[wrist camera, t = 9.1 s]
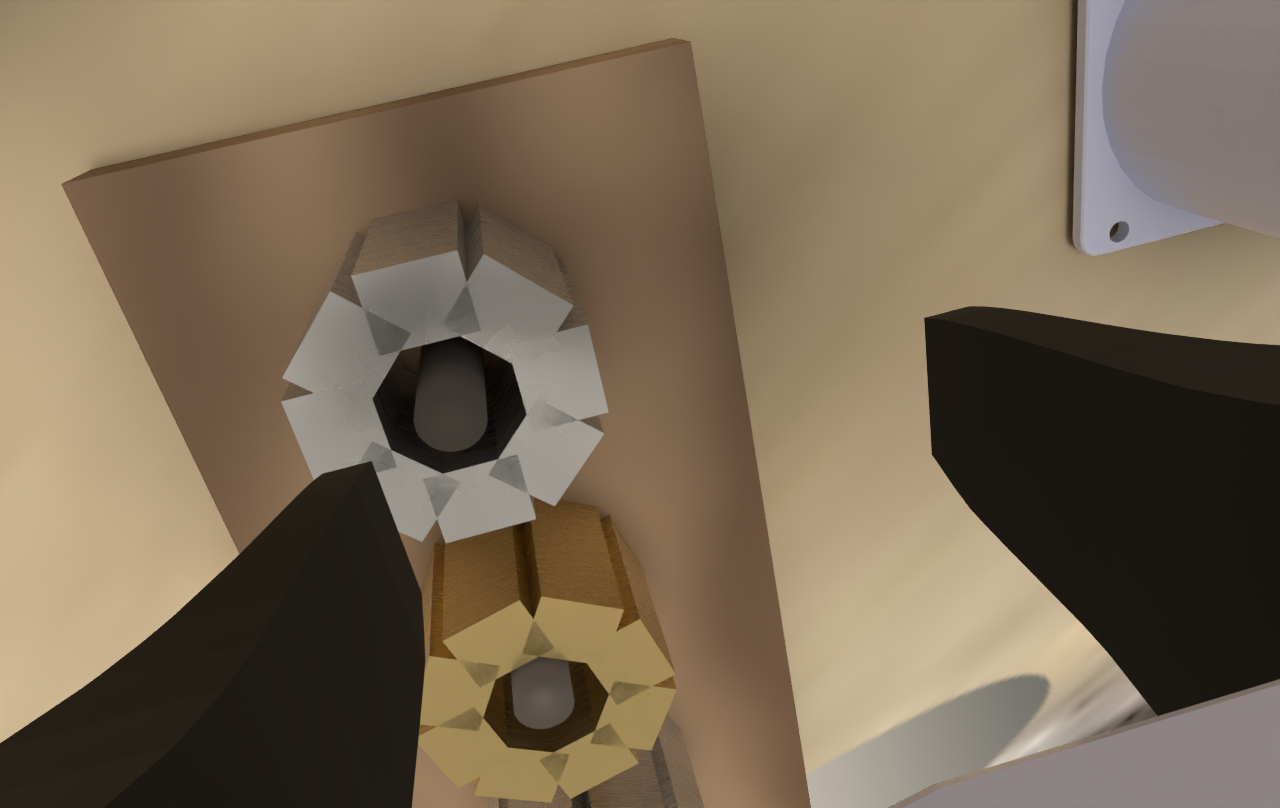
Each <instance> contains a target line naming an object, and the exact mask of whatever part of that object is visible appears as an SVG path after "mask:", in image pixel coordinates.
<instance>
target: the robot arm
mask: <svg viewBox="0 0 1280 808" xmlns="http://www.w3.org/2000/svg"><path fill="white" fill-rule="evenodd" d="M1117 222H1118V224H1119V226H1118V230H1117V232H1116V233H1115V234H1114V236H1112V237H1110V236H1109V233H1110V230H1111V228H1112V227H1113V225H1114V224H1115V223H1117ZM1224 223H1227V224H1231V225H1234V226H1237V227H1241V228H1244V229H1248V230H1251V231H1254V232H1258V233H1261V234H1264V235H1268V236H1271V237H1274V238H1278V239H1280V0H1078V24H1077V69H1076V113H1075V157H1074V201H1073V243H1074V246H1075V247H1076V248H1077V250H1078V251H1081V252H1083V253H1085V254H1088V255H1090V256H1099V255H1103V254H1107V253H1111V252H1115V251H1118V250H1122V249H1126V248H1130V247H1134V246H1138V245H1142V244H1146V243H1150V242H1154V241H1157V240H1161V239H1165V238H1169V237H1173V236H1177V235H1181V234H1185V233H1189V232H1192V231H1196V230H1200V229H1204V228H1208V227H1212V226H1216V225H1220V224H1224ZM924 320H925V338H926V356H927V374H928V392H929V410H930V428H931V446H932V455H933V457H934V458H935V459H936V461H937V462H938V464H939V465H940V467H941V468H942V470H943V471H944V473H945V474H946V476H947V477H948V479H949V480H950V482H951V483H952V485H953V486H954V487H955V489H956V490H957V491H958V493H959V494H960V495H961V497H962V498H963V499H964V501H965V502H966V504H967V505H968V506H969V508H970V509H971V510H972V511H973V512H974V513H975V514H976V515H977V517H978V518H979V519H980V520H981V521H982V522H983V523H984V524H985V525H986V526H987V527H988V528H989V529H990V530H991V531H992V532H993V533H994V534H995V535H996V536H997V538H998V539H999V540H1000V541H1001V542H1002V543H1003V544H1004V545H1005V546H1006V547H1007V548H1008V549H1009V550H1010V551H1011V552H1012V553H1013V554H1014V555H1015V556H1016V557H1017V558H1018V559H1019V560H1020V561H1021V562H1022V563H1023V564H1024V565H1025V566H1026V567H1027V568H1028V569H1029V570H1030V571H1031V572H1032V573H1033V574H1034V575H1035V576H1036V577H1037V579H1038V580H1039V581H1040V582H1041V583H1042V584H1043V585H1044V586H1045V587H1046V588H1047V589H1048V590H1049V591H1050V592H1051V593H1052V594H1053V595H1054V596H1055V597H1056V598H1057V599H1058V600H1059V601H1060V602H1061V603H1062V604H1063V605H1064V606H1065V607H1066V608H1067V609H1068V610H1069V611H1070V612H1071V613H1072V614H1073V615H1074V616H1075V617H1076V618H1077V619H1078V620H1079V621H1080V622H1081V623H1082V624H1083V625H1084V626H1085V628H1086V629H1087V630H1088V631H1089V632H1090V633H1091V634H1092V635H1093V637H1094V638H1095V639H1096V640H1097V641H1098V642H1099V643H1100V644H1101V645H1102V647H1103V648H1104V649H1105V650H1106V651H1107V652H1108V653H1109V655H1110V656H1111V657H1112V658H1113V660H1114V661H1115V662H1116V663H1117V665H1118V666H1119V667H1120V668H1121V670H1122V671H1123V672H1124V674H1125V675H1126V676H1127V677H1128V679H1129V680H1130V681H1131V683H1132V684H1133V685H1134V686H1135V688H1136V689H1137V690H1138V691H1139V693H1140V694H1141V695H1142V697H1143V698H1144V699H1145V700H1146V702H1147V703H1148V704H1149V705H1150V707H1151V708H1152V709H1153V711H1154V712H1155V713H1156V714H1157V717H1154V718H1151V719H1147V720H1144V721H1141V722H1137V723H1134V724H1131V725H1127V726H1124V727H1121V728H1118V729H1114V730H1111V731H1108V732H1104V733H1101V734H1098V735H1095V736H1091V737H1088V738H1085V739H1081V740H1078V741H1075V742H1072V743H1068V744H1065V745H1062V746H1058V747H1055V748H1052V749H1048V750H1045V751H1042V752H1039V753H1035V754H1032V755H1029V756H1025V757H1022V758H1019V759H1016V760H1012V761H1009V762H1006V763H1002V764H999V765H996V766H993V767H989V768H986V769H983V770H979V771H976V772H973V773H970V774H967V775H963V776H960V777H956V778H953V779H950V780H947V781H943V782H940V783H937V784H934V785H932V786H930V787H928V788H926V789H924V790H922V791H920V792H918V793H916V794H914V795H912V796H910V797H908V798H906V799H904V800H903V801H900V802H898V803H896V804H895V805H892V806H890V807H888V808H1280V345H1265V344H1251V343H1240V342H1230V341H1220V340H1212V339H1204V338H1196V337H1188V336H1180V335H1172V334H1164V333H1157V332H1150V331H1143V330H1137V329H1130V328H1124V327H1118V326H1111V325H1105V324H1099V323H1093V322H1087V321H1082V320H1076V319H1070V318H1064V317H1058V316H1052V315H1046V314H1040V313H1033V312H1027V311H1020V310H1012V309H1005V308H995V307H974V306H971V307H965V308H961V309H957V310H954V311H950V312H946V313H942V314H938V315H934V316H930V317H926V318H924ZM424 673H425V638H424V620H423V605H422V592H421V590H420V587H419V584H418V582H417V579H416V577H415V574H414V571H413V569H412V566H411V563H410V561H409V558H408V555H407V553H406V550H405V548H404V545H403V542H402V540H401V537H400V534H399V532H398V529H397V526H396V524H395V521H394V519H393V516H392V513H391V511H390V508H389V505H388V503H387V500H386V497H385V495H384V492H383V490H382V487H381V484H380V482H379V479H378V476H377V474H376V471H375V468H374V466H373V463H372V461H369V462H365V463H362V464H358V465H354V466H350V467H346V468H342V469H338V470H334V471H331V472H327V473H323V474H321V475H320V476H319V477H317V478H316V479H315V480H313V481H312V482H311V483H310V484H309V485H308V486H307V487H306V488H305V489H303V490H302V491H301V492H300V493H299V494H298V495H297V496H296V497H295V498H294V499H293V500H292V501H291V502H290V503H289V504H288V505H287V506H286V507H285V508H284V509H283V510H282V511H281V513H280V514H279V515H278V516H277V517H276V518H275V519H274V520H273V521H272V522H271V523H270V524H269V525H268V526H267V527H266V528H265V529H264V530H263V531H262V532H261V533H260V534H259V535H258V536H257V537H256V538H255V539H254V540H253V541H252V542H251V543H250V544H249V545H248V546H247V547H246V548H245V549H244V550H243V551H242V552H241V553H240V554H239V555H238V556H237V557H236V558H235V559H234V560H233V561H232V562H231V563H230V564H229V565H228V566H227V567H226V568H225V569H224V570H223V571H222V572H220V573H219V574H218V575H217V576H216V577H215V578H214V579H213V580H212V581H211V582H210V583H209V584H208V585H206V586H205V587H204V588H203V589H202V590H201V591H200V592H199V593H198V594H197V595H196V596H195V597H194V598H192V599H191V600H190V601H189V602H188V603H187V604H186V605H185V606H184V607H183V608H182V609H181V610H180V611H179V612H177V613H176V614H175V615H174V616H173V617H172V618H171V619H169V620H168V621H167V622H166V623H165V624H164V625H162V626H161V627H160V628H159V629H158V630H157V631H155V632H154V633H153V634H152V635H150V636H149V637H148V638H147V639H146V640H144V641H143V642H142V643H141V644H140V645H138V646H137V647H136V648H134V649H133V650H132V651H131V652H129V653H128V654H127V655H125V656H124V657H123V658H121V659H120V660H119V661H118V662H116V663H115V664H114V665H112V666H111V667H110V668H109V669H107V670H106V671H105V672H103V673H102V674H101V675H100V676H98V677H97V678H95V679H94V680H93V681H91V682H90V683H89V684H87V685H86V686H84V687H83V688H82V689H80V690H79V691H77V692H76V693H74V694H73V695H71V696H70V697H68V698H67V699H65V700H64V701H62V702H61V703H59V704H58V705H56V706H55V707H54V708H52V709H51V710H49V711H48V712H46V713H45V714H43V715H42V716H40V717H39V718H37V719H36V720H34V721H33V722H31V723H30V724H28V725H27V726H25V727H24V728H22V729H21V730H19V731H18V732H16V733H15V734H13V735H12V736H10V737H9V738H7V739H6V740H4V741H3V742H2V743H0V808H412V801H413V790H414V780H415V770H416V759H417V749H418V739H419V729H420V718H421V707H422V696H423V685H424Z"/></svg>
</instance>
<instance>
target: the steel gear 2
mask: <svg viewBox="0 0 1280 808" xmlns="http://www.w3.org/2000/svg"><path fill="white" fill-rule="evenodd" d="M636 753H637V757H638V761H639V763H638V764H636V765H634V766H633V767H631V768H629V769H627V770H625V771H623V772H621V773H619V774H617V775H615V776H613V777H611V778H610V779H608V780H606V781H604V782H602V783H600V784H598V785H596V786H594V787H592V788H590V789H588V790H587V791H585V792H583V793H581V794H579V795H577V796H575V797H573V798H571V799H570V798H569V796H568V795H567V794H566V793H565V791H564V790H563V789H562V788H561V787H560V785H559V784H558V786H557V789H556V792H555V794H554V797H553V800H552V802H551V803H549V802H538V801H527V800H516V799H506V798H495V797H488V808H704V805H703V801H702V798H701V795H700V791H699V788H698V785H697V781H696V778H695V775H694V772H693V768H692V765H691V762H690V758H689V755H688V752H687V748H686V745H685V742H684V739H683V735H682V732H681V729H680V728H679V727H678V725H677V724H676V723H675V722H674V721H673V720H672V719H671V718H670V717H669V716H668V715H667V714H666V717H665V719H664V722H663V724H662V726H661V729H660V731H659V734H658V736H657V738H656V741H655V743H654V745H653V748H652V750H643V749H636Z"/></svg>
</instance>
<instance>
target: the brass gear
mask: <svg viewBox="0 0 1280 808" xmlns="http://www.w3.org/2000/svg"><path fill="white" fill-rule="evenodd" d="M533 500H534V507H535V513H536V519H535V520H531V521H528V522H524V523H520V524H516V525H513V526H509V527H505V528H501V529H498V530H494V531H490V532H486V533H483V534H479V535H475V536H472V537H468V538H464V539H460V540H457V541H453V542H449V543H445V545H444V544H438V543H434V546H433V549H432V553H431V556H430V560H429V564H428V567H427V571H426V574H425V578H424V582H423V585H422V589H421V592H422V605H423V620H424V638H425V673H424V685H423V696H422V707H421V718H420V729H419V739H418V744H419V746H420V747H421V748H422V749H423V750H424V751H425V752H426V753H427V754H428V756H429V757H430V758H431V759H432V760H433V761H434V762H435V763H436V764H437V766H438V767H439V768H440V769H441V770H442V771H443V772H444V773H445V774H446V776H447V777H448V778H449V779H450V780H451V781H452V782H453V783H454V784H455V786H456V787H457V788H460V787H462V786H464V785H466V784H467V783H469V782H471V781H473V780H474V796H484V797H495V798H506V799H516V800H527V801H538V802H549V803H551V802H552V800H553V797H554V794H555V792H556V789H557V786H558V784H559V785H560V787H561V788H562V789H563V790H564V791H565V793H566V794H567V795H568V796H569V798H570V799H571V798H573V797H575V796H577V795H579V794H581V793H583V792H585V791H587V790H588V789H590V788H592V787H594V786H596V785H598V784H600V783H602V782H604V781H606V780H608V779H610V778H611V777H613V776H615V775H617V774H619V773H621V772H623V771H625V770H627V769H629V768H631V767H633V766H634V765H636V764H638V763H639V761H638V757H637V753H636V749H643V750H652V748H653V745H654V743H655V741H656V738H657V736H658V734H659V731H660V729H661V726H662V724H663V722H664V719H665V717H666V714H667V712H668V710H669V707H670V705H671V702H672V700H673V698H674V695H675V693H676V690H677V688H676V685H675V682H674V679H673V675H675V674H676V673H675V670H674V666H673V663H672V660H671V657H670V654H669V651H668V648H667V645H666V642H665V638H664V635H663V632H662V629H661V626H660V623H659V620H658V617H657V613H656V610H655V607H654V604H653V601H652V598H651V595H650V592H649V589H648V585H647V582H646V579H645V576H644V573H643V570H642V567H641V564H640V563H639V561H638V559H637V558H636V556H635V555H634V553H633V551H632V550H631V548H630V547H629V545H628V543H627V542H626V540H625V539H624V537H623V535H622V534H621V532H620V531H619V529H618V527H617V526H616V524H615V523H614V521H613V519H612V518H611V516H610V515H609V516H607V517H605V518H603V519H601V520H600V518H599V514H598V511H597V507H596V506H592V505H587V504H581V503H576V502H571V501H566V500H561V499H560V500H559V501H558V503H557V504H556V505H555V506H553V505H551V504H548V503H546V502H544V501H542V500H540V499H538V498H536V497H534V496H533ZM539 656H540V657H547V658H554V659H561V660H568V665H569V671H570V678H571V684H572V690H573V696H574V708H573V710H572V713H571V714H570V715H569V717H568V718H567V719H566V720H565V721H563V722H562V723H560V724H558V725H556V726H554V727H551V728H546V729H535V728H530V727H527V726H525V725H523V724H522V723H521V722H519V721H518V719H517V718H516V716H515V714H514V708H513V695H512V682H511V671H513V670H514V669H516V668H518V667H520V666H522V665H524V664H526V663H528V662H530V661H531V660H533V659H535V658H537V657H539Z"/></svg>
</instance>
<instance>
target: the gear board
mask: <svg viewBox="0 0 1280 808" xmlns="http://www.w3.org/2000/svg"><path fill="white" fill-rule="evenodd" d="M62 186H63V188H64V191H65V193H66V195H67V197H68V199H69V201H70V203H71V205H72V207H73V209H74V211H75V213H76V215H77V218H78V220H79V222H80V224H81V226H82V228H83V230H84V232H85V234H86V236H87V238H88V240H89V242H90V245H91V247H92V249H93V251H94V253H95V255H96V257H97V259H98V261H99V263H100V265H101V267H102V269H103V272H104V274H105V276H106V278H107V280H108V282H109V284H110V286H111V288H112V290H113V292H114V294H115V296H116V299H117V301H118V303H119V305H120V307H121V309H122V311H123V313H124V315H125V317H126V319H127V321H128V323H129V325H130V328H131V330H132V332H133V334H134V336H135V338H136V340H137V342H138V344H139V346H140V348H141V350H142V352H143V355H144V357H145V359H146V361H147V363H148V365H149V367H150V369H151V371H152V373H153V375H154V377H155V379H156V382H157V384H158V386H159V388H160V390H161V392H162V394H163V396H164V398H165V400H166V402H167V404H168V406H169V409H170V411H171V413H172V415H173V417H174V419H175V421H176V423H177V425H178V427H179V429H180V431H181V433H182V436H183V438H184V440H185V442H186V444H187V446H188V448H189V450H190V452H191V454H192V456H193V458H194V460H195V462H196V465H197V467H198V469H199V471H200V473H201V475H202V477H203V479H204V481H205V483H206V485H207V487H208V489H209V492H210V494H211V496H212V498H213V500H214V502H215V504H216V506H217V508H218V510H219V512H220V514H221V516H222V519H223V521H224V523H225V525H226V527H227V529H228V531H229V533H230V535H231V537H232V539H233V541H234V543H235V546H236V548H237V550H238V552H239V554H240V553H241V552H242V551H243V550H244V549H245V548H246V547H247V546H248V545H249V544H250V543H251V542H252V541H253V540H254V539H255V538H256V537H257V536H258V535H259V534H260V533H261V532H262V531H263V530H264V529H265V528H266V527H267V526H268V525H269V524H270V523H271V522H272V521H273V520H274V519H275V518H276V517H277V516H278V515H279V514H280V513H281V511H282V510H283V509H284V508H285V507H286V506H287V505H288V504H289V503H290V502H291V501H292V500H293V499H294V498H295V497H296V496H297V495H298V494H299V493H300V492H301V491H302V490H303V489H305V488H306V487H307V486H308V485H309V484H310V483H311V482H312V481H313V480H314V479H313V477H312V474H311V472H310V470H309V467H308V465H307V462H306V460H305V458H304V455H303V453H302V451H301V448H300V446H299V443H298V441H297V439H296V436H295V434H294V431H293V429H292V427H291V424H290V422H289V419H288V417H287V415H286V412H285V410H284V407H283V405H282V403H281V400H282V398H283V396H284V393H285V391H286V389H287V387H288V384H289V381H287V380H285V379H283V378H282V377H283V375H284V373H285V371H286V368H287V366H288V364H289V362H290V360H291V358H292V355H293V353H294V351H295V349H296V347H297V344H298V342H299V340H300V338H301V336H302V334H303V331H304V329H305V327H306V325H307V323H308V320H309V318H310V316H311V314H312V312H313V310H314V307H315V305H316V303H317V301H318V299H319V297H320V296H321V294H322V292H323V290H324V288H325V287H326V285H327V283H328V281H329V279H330V278H331V276H332V274H333V272H334V270H335V268H336V267H337V265H338V263H339V261H340V259H341V258H342V256H343V254H344V252H345V250H346V249H347V247H348V245H349V243H350V241H351V239H352V238H353V236H354V234H355V232H358V233H360V234H362V235H364V236H365V237H366V236H367V233H368V230H369V228H370V225H371V222H372V220H373V219H374V218H379V217H383V216H387V215H391V214H396V213H400V212H404V211H408V210H413V209H417V208H421V207H425V206H429V205H434V204H438V203H442V202H446V201H451V200H455V199H458V203H459V206H460V210H461V213H462V217H463V220H464V224H465V225H466V223H467V221H468V220H469V218H470V216H471V215H472V213H473V211H474V209H475V208H476V206H477V204H478V203H481V204H483V205H484V206H486V207H488V208H489V209H491V210H493V211H494V212H496V213H498V214H499V215H501V216H503V217H504V218H506V219H508V220H509V221H511V222H513V223H514V224H516V225H518V226H519V227H521V228H523V229H524V230H526V231H528V232H530V233H531V234H533V235H535V236H536V237H538V238H540V239H541V240H543V241H545V242H546V243H548V244H550V245H551V246H552V249H553V251H554V254H555V257H556V259H557V262H558V263H559V262H564V265H565V268H566V270H567V273H568V275H569V278H570V280H571V283H572V285H573V288H574V290H575V293H576V295H577V298H578V301H579V303H580V306H581V308H582V311H583V313H584V316H585V318H586V321H587V323H588V327H589V331H590V335H591V340H592V344H593V348H594V352H595V357H596V361H597V365H598V369H599V374H600V378H601V382H602V386H603V390H604V395H605V399H606V403H607V407H608V413H604V414H600V415H598V416H599V419H600V422H601V425H602V428H603V431H604V435H603V436H602V438H601V439H600V441H599V442H598V444H597V445H596V447H595V448H594V450H593V451H592V453H591V454H590V456H589V457H588V458H587V460H586V461H585V463H584V464H583V466H582V467H581V469H580V470H579V472H578V473H577V475H576V476H575V478H574V479H573V481H572V482H571V483H570V485H569V486H568V488H567V489H566V491H565V492H564V494H563V495H562V497H561V498H560V499H561V500H566V501H571V502H576V503H581V504H587V505H592V506H596V507H597V511H598V514H599V518H600V520H601V519H603V518H605V517H607V516H609V515H610V516H611V518H612V519H613V521H614V523H615V524H616V526H617V527H618V529H619V531H620V532H621V534H622V535H623V537H624V539H625V540H626V542H627V543H628V545H629V547H630V548H631V550H632V551H633V553H634V555H635V556H636V558H637V559H638V561H639V563H640V564H641V567H642V570H643V573H644V576H645V579H646V582H647V585H648V589H649V592H650V595H651V598H652V601H653V604H654V607H655V610H656V613H657V617H658V620H659V623H660V626H661V629H662V632H663V635H664V638H665V642H666V645H667V648H668V651H669V654H670V657H671V660H672V663H673V666H674V670H675V673H676V674H675V675H673V679H674V682H675V685H676V688H677V690H676V693H675V695H674V698H673V700H672V702H671V705H670V707H669V710H668V712H667V715H668V716H669V717H670V718H671V719H672V720H673V721H674V722H675V723H676V724H677V725H678V727H679V728H680V729H681V732H682V735H683V739H684V742H685V745H686V748H687V752H688V755H689V758H690V762H691V765H692V768H693V772H694V775H695V778H696V781H697V785H698V788H699V791H700V795H701V798H702V801H703V805H704V808H811V806H810V799H809V793H808V786H807V780H806V774H805V767H804V761H803V755H802V748H801V742H800V736H799V729H798V723H797V716H796V710H795V704H794V697H793V691H792V685H791V678H790V672H789V666H788V659H787V653H786V647H785V640H784V634H783V627H782V621H781V615H780V608H779V602H778V596H777V589H776V583H775V577H774V570H773V564H772V558H771V551H770V545H769V538H768V532H767V526H766V519H765V513H764V507H763V500H762V494H761V488H760V481H759V475H758V469H757V462H756V456H755V449H754V443H753V437H752V430H751V424H750V418H749V411H748V405H747V399H746V392H745V386H744V380H743V373H742V367H741V360H740V354H739V348H738V341H737V335H736V329H735V322H734V316H733V310H732V303H731V297H730V290H729V284H728V278H727V271H726V265H725V259H724V252H723V246H722V240H721V233H720V227H719V221H718V214H717V208H716V201H715V195H714V189H713V182H712V176H711V170H710V163H709V157H708V151H707V144H706V138H705V132H704V125H703V119H702V112H701V106H700V100H699V93H698V87H697V81H696V74H695V68H694V62H693V55H692V49H691V43H690V41H685V40H680V39H675V38H673V39H668V40H664V41H659V42H655V43H650V44H646V45H642V46H637V47H633V48H628V49H624V50H619V51H615V52H611V53H606V54H602V55H597V56H593V57H588V58H584V59H580V60H575V61H571V62H566V63H562V64H557V65H553V66H549V67H544V68H540V69H535V70H531V71H526V72H522V73H518V74H513V75H509V76H504V77H500V78H495V79H491V80H487V81H482V82H478V83H473V84H469V85H464V86H460V87H456V88H451V89H447V90H442V91H438V92H433V93H429V94H425V95H420V96H416V97H411V98H407V99H403V100H398V101H394V102H389V103H385V104H380V105H376V106H372V107H367V108H363V109H358V110H354V111H349V112H345V113H341V114H336V115H332V116H327V117H323V118H318V119H314V120H310V121H305V122H301V123H296V124H292V125H287V126H283V127H279V128H274V129H270V130H265V131H261V132H256V133H252V134H248V135H243V136H239V137H234V138H230V139H225V140H221V141H217V142H212V143H208V144H203V145H199V146H194V147H190V148H186V149H181V150H177V151H172V152H168V153H163V154H159V155H155V156H150V157H146V158H141V159H137V160H132V161H128V162H124V163H119V164H115V165H110V166H106V167H101V168H97V169H93V170H90V171H88V172H86V173H84V174H82V175H79V176H77V177H75V178H73V179H71V180H69V181H67V182H65V183H63V184H62ZM400 355H401V358H402V361H403V364H404V365H406V366H408V367H410V368H412V369H414V370H416V371H418V381H417V390H416V400H415V409H414V426H415V429H416V432H417V434H418V435H419V437H420V438H421V439H422V440H423V441H424V442H425V443H426V444H427V445H429V446H431V447H432V448H435V449H437V450H441V451H446V452H455V451H461V450H464V449H467V448H469V447H471V446H472V445H474V444H475V443H476V442H477V441H478V440H479V439H480V438H481V437H482V436H483V434H484V432H485V430H486V427H487V420H488V417H487V403H486V389H485V375H488V374H491V372H492V371H493V369H494V368H495V366H496V364H497V363H498V361H499V360H500V358H501V357H499V356H497V355H495V354H493V353H491V352H489V351H488V350H486V349H484V348H482V347H480V346H478V345H476V344H474V343H472V342H471V341H469V340H467V339H465V338H463V337H461V336H458V337H454V338H450V339H446V340H442V341H438V342H434V343H430V344H426V345H422V346H418V347H414V348H410V349H406V350H402V351H400ZM399 534H400V537H401V540H402V542H403V545H404V548H405V550H406V553H407V555H408V558H409V561H410V563H411V566H412V569H413V571H414V574H415V577H416V579H417V582H418V584H419V587H420V590H421V589H422V585H423V582H424V578H425V574H426V571H427V567H428V564H429V560H430V556H431V553H432V549H433V546H434V543H438V544H444V545H445V540H444V537H443V534H442V531H441V528H440V526H439V523H438V520H436V521H435V523H434V524H433V526H432V527H431V529H430V531H429V532H428V534H427V535H426V537H425V538H424V540H423V542H421V541H419V540H417V539H414V538H412V537H410V536H407V535H405V534H403V533H400V532H399ZM511 682H512V695H513V708H514V714H515V716H516V718H517V719H518V721H519V722H521V723H522V724H523V725H525V726H527V727H530V728H535V729H546V728H551V727H554V726H556V725H558V724H560V723H562V722H563V721H565V720H566V719H567V718H568V717H569V715H570V714H571V713H572V710H573V708H574V696H573V690H572V684H571V678H570V671H569V665H568V660H561V659H554V658H547V657H540V656H539V657H537V658H535V659H533V660H531V661H530V662H528V663H526V664H524V665H522V666H520V667H518V668H516V669H514V670H513V671H511ZM412 808H488V797H484V796H474V780H473V781H471V782H469V783H467V784H466V785H464V786H462V787H460V788H457V787H456V786H455V784H454V783H453V782H452V781H451V780H450V779H449V778H448V777H447V776H446V774H445V773H444V772H443V771H442V770H441V769H440V768H439V767H438V766H437V764H436V763H435V762H434V761H433V760H432V759H431V758H430V757H429V756H428V754H427V753H426V752H425V751H424V750H423V749H422V748H421V747H420V746H419V744H418V749H417V759H416V770H415V780H414V790H413V801H412Z"/></svg>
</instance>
